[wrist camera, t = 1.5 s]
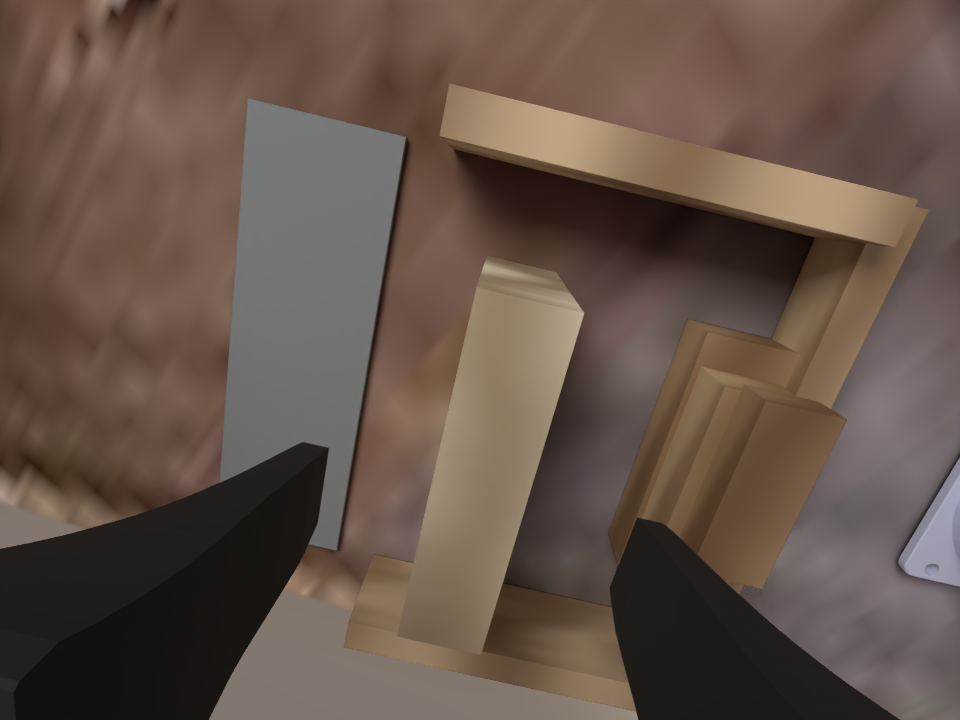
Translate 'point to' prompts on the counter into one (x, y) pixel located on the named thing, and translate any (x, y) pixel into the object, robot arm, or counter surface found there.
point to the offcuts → (728, 453)
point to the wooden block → (489, 451)
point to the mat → (307, 291)
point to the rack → (802, 328)
